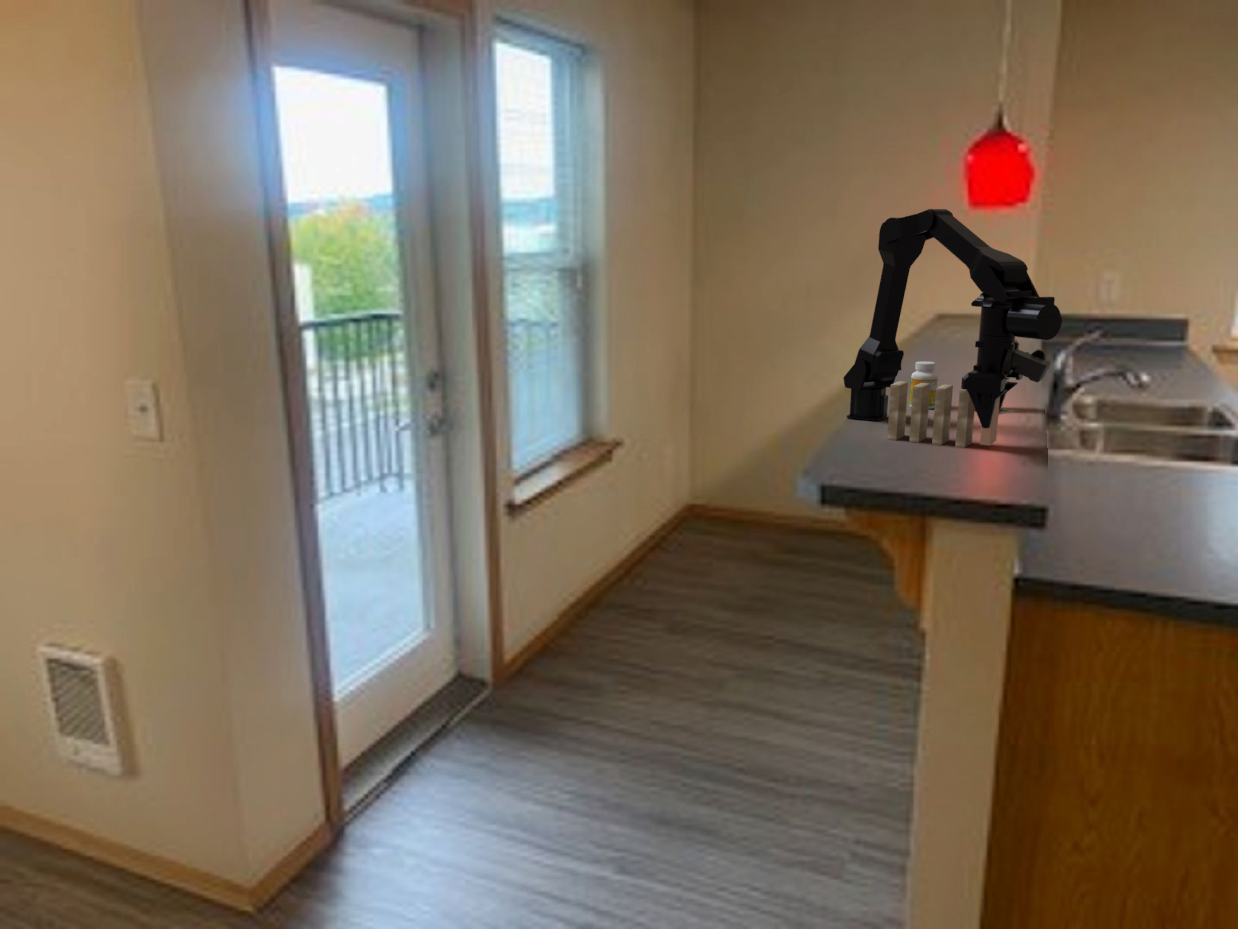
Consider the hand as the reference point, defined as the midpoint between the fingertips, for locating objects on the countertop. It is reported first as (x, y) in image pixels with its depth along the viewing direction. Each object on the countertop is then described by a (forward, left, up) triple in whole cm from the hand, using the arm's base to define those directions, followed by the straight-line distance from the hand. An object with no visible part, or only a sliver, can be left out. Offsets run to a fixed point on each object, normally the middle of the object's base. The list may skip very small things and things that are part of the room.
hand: (989, 425), depth 159 cm
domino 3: (-8, 0, -4) cm, 9 cm away
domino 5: (0, 0, -3) cm, 3 cm away
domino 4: (-4, 0, -4) cm, 6 cm away
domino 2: (-12, 0, -4) cm, 13 cm away
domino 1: (-16, 0, -4) cm, 16 cm away
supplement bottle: (-21, +34, -4) cm, 40 cm away
